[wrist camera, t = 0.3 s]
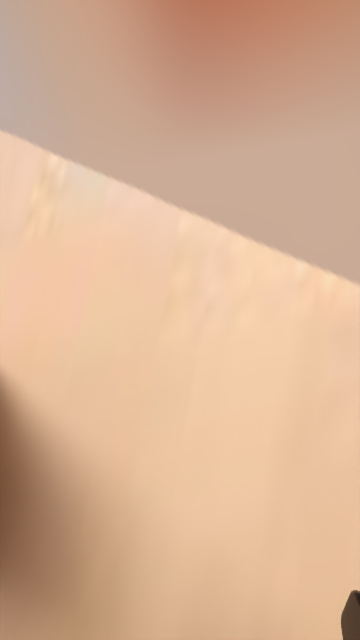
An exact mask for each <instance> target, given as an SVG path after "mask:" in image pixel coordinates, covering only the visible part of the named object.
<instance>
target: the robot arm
mask: <svg viewBox="0 0 360 640" xmlns="http://www.w3.org/2000/svg"><path fill="white" fill-rule="evenodd" d="M341 628H342V635H343V640H360V591H357V590H353V591H352V592H351V593H350V595H349V598H348V600H347V602H346V605H345V607H344V610H343V612H342V616H341Z"/></svg>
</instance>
